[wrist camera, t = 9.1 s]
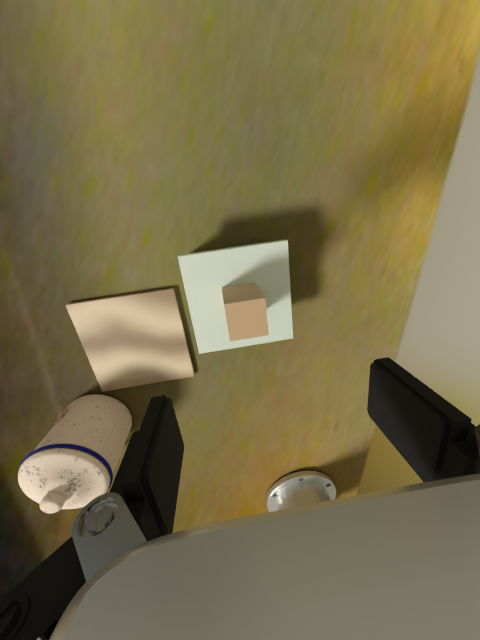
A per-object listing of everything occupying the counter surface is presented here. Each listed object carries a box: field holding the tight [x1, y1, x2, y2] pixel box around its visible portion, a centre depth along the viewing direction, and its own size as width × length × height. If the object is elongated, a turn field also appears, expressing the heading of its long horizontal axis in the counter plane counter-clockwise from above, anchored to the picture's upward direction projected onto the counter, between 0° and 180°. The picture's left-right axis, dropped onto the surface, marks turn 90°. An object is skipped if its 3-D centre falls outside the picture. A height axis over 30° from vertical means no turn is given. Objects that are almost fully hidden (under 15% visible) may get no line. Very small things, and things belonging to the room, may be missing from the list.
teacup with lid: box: [18, 394, 132, 513], centre depth 29 cm, size 12×9×12 cm
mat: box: [66, 288, 195, 392], centre depth 30 cm, size 12×12×1 cm
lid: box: [178, 240, 293, 354], centre depth 22 cm, size 10×10×6 cm
